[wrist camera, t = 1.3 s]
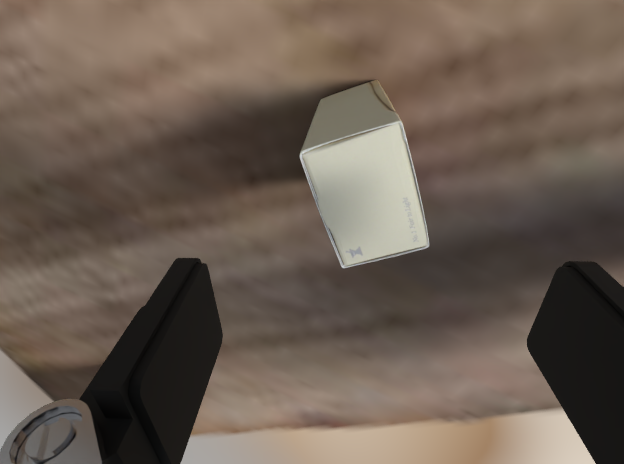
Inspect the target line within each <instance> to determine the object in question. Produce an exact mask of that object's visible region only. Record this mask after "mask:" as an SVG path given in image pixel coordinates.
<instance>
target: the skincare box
mask: <svg viewBox="0 0 624 464" xmlns="http://www.w3.org/2000/svg"><path fill="white" fill-rule="evenodd" d="M299 157H300V160H301V163H302V166H303V169H304V172H305V175H306V178H307V180H308V183H309V186H310V188H311V191H312V194H313V197H314V199H315V202H316V205H317V208H318V210H319V213H320V216H321V218H322V221H323V223H324V225H325V228H326V230H327V233H328V236H329V238H330V240H331V243H332V245H333V248H334V250H335V252H336V255H337V257H338V260H339V262H340V265H341V267H342V268H347V267H351V266H356V265H360V264H365V263H370V262H374V261H378V260H382V259H386V258H390V257H395V256H399V255H403V254H407V253H411V252H414V251H418V250H422V249H426V248H428V247H429V238H428V232H427V225H426V221H425V215H424V210H423V205H422V201H421V196H420V192H419V188H418V183H417V179H416V174H415V170H414V166H413V162H412V158H411V154H410V150H409V146H408V142H407V138H406V135H405V131H404V127H403V124H402V121H401V120H400V118H399V116H398V114H397V113H396V111H395V109H394V107H393V106H392V104H391V102H390V100H389V99H388V97H387V95H386V93H385V92H384V90H383V88H382V87H381V85H380V83H379V82H378V80H374V81H371V82H368V83H365V84H362V85H359V86H356V87H353V88H350V89H347V90H344V91H342V92H339V93H336V94H333V95H330V96H328V97H325V98H322V99H321V100H320V102H319V105H318V107H317V110H316V112H315V115H314V118H313V120H312V123H311V126H310V128H309V131H308V134H307V136H306V139H305V142H304V144H303V147H302V149H301V152H300V155H299Z"/></svg>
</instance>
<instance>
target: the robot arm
mask: <svg viewBox="0 0 624 464" xmlns="http://www.w3.org/2000/svg"><path fill="white" fill-rule="evenodd" d="M222 337H223V334H222V328H221V324H220V319H219V315H218V310H217V306H216V301H215V297H214V293H213V288H212V284H211V279H210V275H209V270H208V267H207V265H206V264H205V263H201V261H200V259H198V258H177V259H176V260H175V261H174V262H173V264H172V266H171V267H170V269H169V270H168V272H167V273H166V275H165V276H164V278H163V279H162V281H161V282H160V284H159V285H158V287H157V288H156V290H155V291H154V293H153V294H152V296H151V297H150V299H149V300H148V302H147V303H146V305H145V306H144V307H142V308H141V309H140V310H139V311H138V312H137V314H136V315H135V317H134V318H133V320H132V321H131V323H130V324H129V326H128V327H127V329H126V330H125V332H124V333H123V335H122V336H121V338H120V339H119V341H118V342H117V344H116V345H115V347H114V348H113V350H112V351H111V353H110V354H109V356H108V357H107V359H106V360H105V362H104V363H103V365H102V366H101V368H100V369H99V371H98V372H97V374H96V375H95V377H94V378H93V380H92V381H91V383H90V384H89V386H88V387H87V389H86V390H85V392H84V393H83V395H82V396H81V398H80V399H79V400H78V399H70V398H69V399H63V400H58V401H55V402H52V403H50V404H47V405H45V406H43V407H41V408H40V409H38V410H36V411H35V412H33V413H31V414H30V415H29V416H28V417H26V418H25V419H24V420H23V421H22V422H20V423H19V424H18V425H17V426H16V427H15V429H14V430H13V431H12V432H11V433H10V434H9V436H8V437H7V439H6V441H5V442H4V444H3V446H2V448H1V451H0V464H180V462H181V460H182V458H183V455H184V452H185V449H186V446H187V443H188V440H189V437H190V434H191V431H192V429H193V426H194V423H195V420H196V417H197V414H198V411H199V408H200V405H201V402H202V399H203V396H204V394H205V391H206V388H207V385H208V382H209V379H210V376H211V373H212V370H213V367H214V364H215V362H216V359H217V356H218V353H219V350H220V347H221V344H222ZM527 347H528V350H529V352H530V354H531V356H532V357H533V359H534V361H535V362H536V364H537V366H538V367H539V369H540V371H541V372H542V374H543V376H544V377H545V379H546V381H547V382H548V384H549V386H550V387H551V389H552V391H553V392H554V394H555V396H556V398H557V399H558V401H559V403H560V404H561V406H562V408H563V409H564V411H565V413H566V414H567V416H568V418H569V419H570V421H571V423H572V424H573V426H574V428H575V429H576V431H577V433H578V434H579V436H580V438H581V439H582V441H583V443H584V444H585V446H586V448H587V450H588V451H589V453H590V455H591V456H592V458H593V459H594V461H595V463H596V464H624V287H622V286H621V285H620V284H619V283H618V282H617V281H616V280H615V279H614V278H613V277H611V276H610V275H609V274H608V273H607V272H606V271H605V270H604V269H603V268H602V267H601V266H599V265H598V264H597V263H595V262H582V261H569V262H566V263H565V264H564V265H563V266H562V267H559V268H558V269H557V270H556V272H555V274H554V277H553V279H552V281H551V284H550V286H549V288H548V291H547V293H546V295H545V298H544V300H543V302H542V305H541V307H540V309H539V312H538V314H537V316H536V319H535V321H534V323H533V326H532V328H531V330H530V333H529V335H528V338H527Z"/></svg>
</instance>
